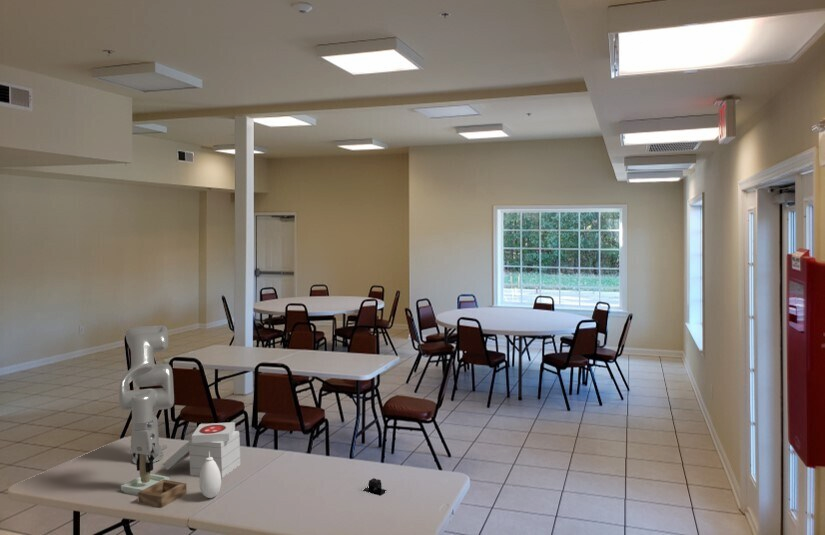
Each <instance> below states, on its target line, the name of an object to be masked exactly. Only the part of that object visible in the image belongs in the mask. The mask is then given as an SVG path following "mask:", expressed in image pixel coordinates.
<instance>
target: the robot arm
mask: <svg viewBox="0 0 825 535" xmlns="http://www.w3.org/2000/svg"><path fill="white" fill-rule="evenodd" d="M125 339H126V343H127V345H128V348H129V350H130V353H131V354H130V355H131V356H130V357H131V359H130V362H131V363H130V368H129V370H127V371H126V372H125V374H124V375H123V377H122V378H121V380H120V382H119V387H118V388H119V390H118V392H119V393H118V394H119V395H118V401H119V403H118V404H119V407H120V408H121V409H122V410H124V411H127V410H128V411H129V410H131V418H132V419H131V420H132V422H131V423H132V429H131V434H130V435H131V436H130V437H131V438H130V453H131V454H132V456H133V458H132V463H133V464H135V465H136V471H137V472H140V469H139V465H140V454H142V455H145V456H146V461H147V462H146V463H145V465H146V472H147V473H148V472H150V473H151V472H152V471H153V470H154V463H157V462H159V461H161V460H163V458H164V454H163V452H162V451H163V450H165V449H167V448H168V445H167V444H163V445H160V441H159V438H160V437H159V436H160V434H159V420H158V418H157V416H156V415H155V414H154V412H153V411H160V410H169V409H171V408H172V407H174V404H175V393H174V392H175V391H174V388H175V387H174V374H173V368H172V366H171V365H170V364H168V363H157V364H156V363H155V353H158V352H165V351H166V350H167V349H168V347H169V329H168V328H167V326H165V325H164V324H159V325H158V324H157V325H142V326H134V327H130V328H128V329H127V330H126V332H125ZM133 381H134V384H135V385H136V386H137V387H140V389H132V390H128V386H129V385H130V383H131V382H133ZM154 386H156V387H157V386H161V387H160V388H144V387H154ZM141 387H142V389H141ZM143 388H144V389H143ZM137 447H141V448H142V451H138V450H137ZM139 450H140V449H139ZM158 460H159V461H158ZM156 461H157V462H156Z"/></svg>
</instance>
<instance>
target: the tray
mask: <svg viewBox="0 0 825 535" xmlns="http://www.w3.org/2000/svg"><path fill="white" fill-rule="evenodd" d="M149 478H150V481H149V482H147V483H142V482H141V477H140V476H138V477H136V478H134V479H132V480H130V481H128V482H126V483H124V484H121V485H120V490H121V493H123V494H124V493H125V494H130V495H133V496H138V492H140V491H142V490H144V489H146V488H148V487H150V486H152V485H154V484H156V483H158V482H160V481H162V480H163V479H164V480H170V477H169V476H164V475H160V474H153V473H150V477H149ZM170 481H171V480H170Z"/></svg>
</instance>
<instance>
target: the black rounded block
mask: <svg viewBox="0 0 825 535" xmlns="http://www.w3.org/2000/svg"><path fill="white" fill-rule="evenodd" d="M367 485H368V486H369V488H368V486H366V487H367V488H366V487H364V488H365V489H364V488H363V489H364V490H363V491H362V492H365V491H366V492H365V493H369V492H370V493H369V494H373V495H377V496H380V497H381V496H383V495H384V494H386V493H385V491H386V490H387V489H384V488H382V487H383V486H382V481H381V479H377V478H375V477H373V478H371V479H370V480H368V484H367Z"/></svg>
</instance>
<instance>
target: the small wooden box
mask: <svg viewBox="0 0 825 535" xmlns="http://www.w3.org/2000/svg"><path fill="white" fill-rule="evenodd" d="M187 491H188V490H187V483H184V482H179V481H175V480H164V479H163V480H162V481H160V482H158V483H156V484H154V485H152V486H150V487H148V488H146V489H144V490H142V491H140V492H138V495H137V496H138V500H137V501H138V503H139V504H144V505H148V506H153V507H156V508H157V507H158V508H164V507H166V506H167V505H169V504H170V503H173V502H174V501H177V500H178V499H180V498H182V497H183V496H185V495H186V494H187Z"/></svg>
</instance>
